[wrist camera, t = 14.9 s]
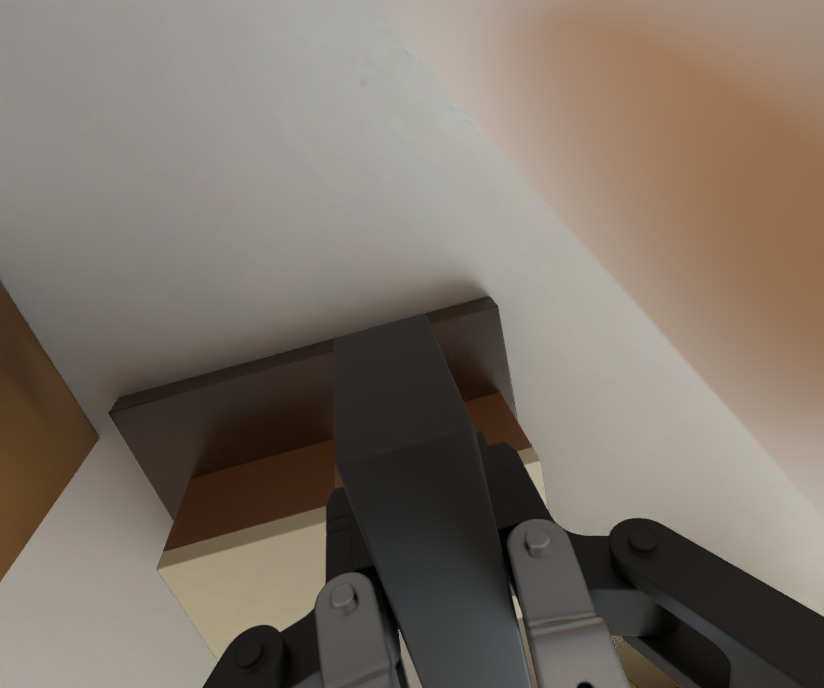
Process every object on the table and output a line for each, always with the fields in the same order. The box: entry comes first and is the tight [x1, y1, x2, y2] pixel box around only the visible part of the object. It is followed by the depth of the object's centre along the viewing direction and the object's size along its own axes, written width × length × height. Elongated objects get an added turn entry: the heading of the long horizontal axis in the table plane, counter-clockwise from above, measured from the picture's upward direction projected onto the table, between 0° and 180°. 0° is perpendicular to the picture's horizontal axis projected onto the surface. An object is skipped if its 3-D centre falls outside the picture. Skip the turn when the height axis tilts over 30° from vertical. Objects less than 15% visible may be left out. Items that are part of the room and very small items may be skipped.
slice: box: [464, 392, 548, 619], centre depth 28 cm, size 10×4×6 cm, turn 13°
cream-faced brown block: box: [157, 439, 344, 661], centre depth 27 cm, size 10×8×6 cm
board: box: [109, 296, 518, 521], centre depth 31 cm, size 20×20×2 cm
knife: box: [334, 314, 533, 688], centre depth 16 cm, size 22×2×5 cm, turn 13°
